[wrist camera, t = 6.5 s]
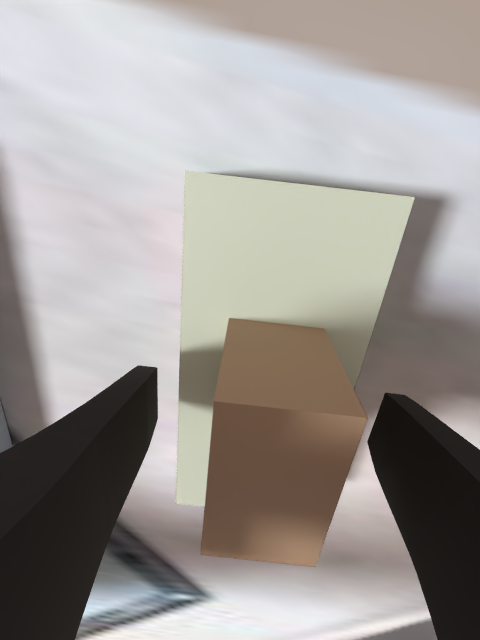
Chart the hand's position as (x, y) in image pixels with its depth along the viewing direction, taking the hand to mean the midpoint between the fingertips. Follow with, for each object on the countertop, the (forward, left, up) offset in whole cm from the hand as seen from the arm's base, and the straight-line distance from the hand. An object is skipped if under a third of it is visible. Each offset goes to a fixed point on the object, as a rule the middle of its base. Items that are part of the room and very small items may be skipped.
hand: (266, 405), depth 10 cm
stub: (0, 0, -3) cm, 3 cm away
